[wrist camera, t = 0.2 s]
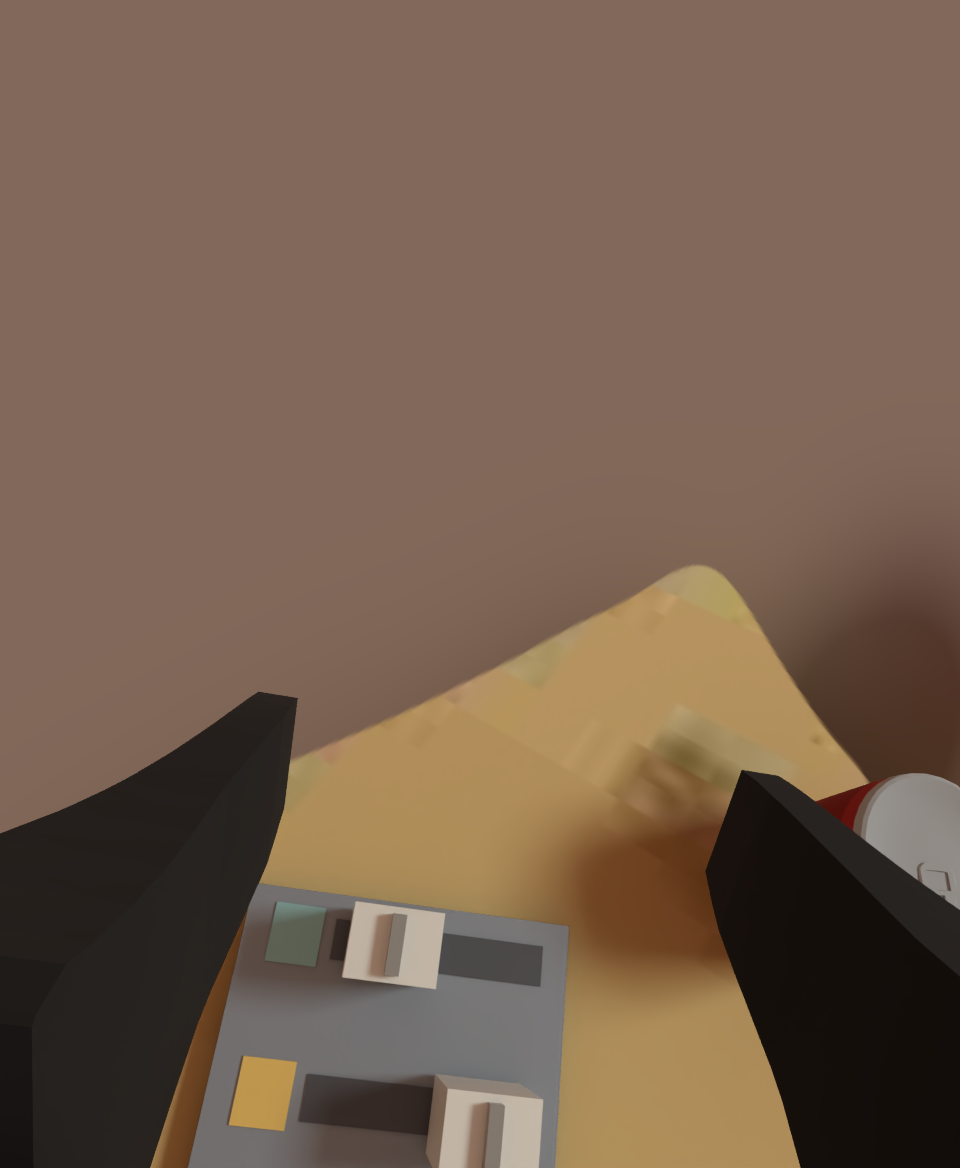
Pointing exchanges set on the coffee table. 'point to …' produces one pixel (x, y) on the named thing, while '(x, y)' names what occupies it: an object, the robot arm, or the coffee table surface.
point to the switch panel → (372, 1036)
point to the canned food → (909, 826)
